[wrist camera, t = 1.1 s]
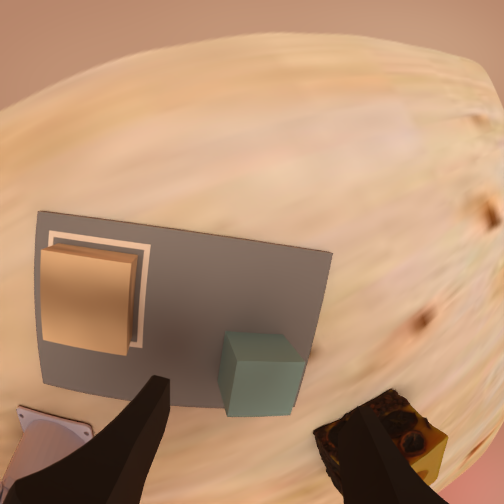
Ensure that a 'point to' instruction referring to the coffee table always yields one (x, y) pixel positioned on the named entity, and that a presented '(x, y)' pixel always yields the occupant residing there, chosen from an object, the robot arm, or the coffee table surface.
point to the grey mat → (184, 305)
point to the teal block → (258, 374)
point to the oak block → (87, 297)
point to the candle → (400, 431)
